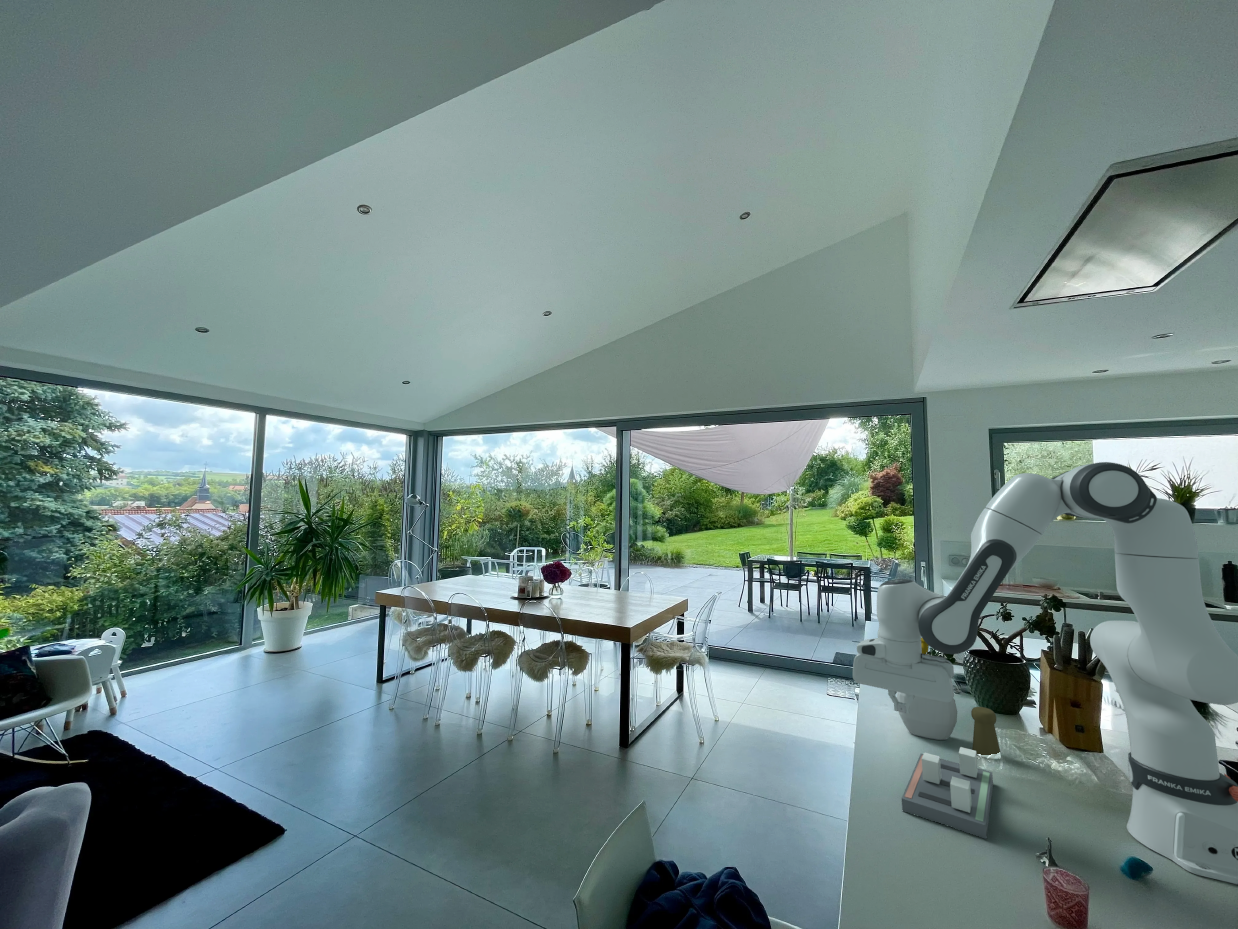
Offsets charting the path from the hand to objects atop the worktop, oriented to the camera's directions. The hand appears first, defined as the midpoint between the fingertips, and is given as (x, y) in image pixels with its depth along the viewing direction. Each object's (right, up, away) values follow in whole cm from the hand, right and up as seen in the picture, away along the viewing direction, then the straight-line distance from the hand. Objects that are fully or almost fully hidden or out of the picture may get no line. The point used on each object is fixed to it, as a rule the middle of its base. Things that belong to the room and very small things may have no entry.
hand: (902, 711), depth 113 cm
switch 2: (+4, -12, -14) cm, 19 cm away
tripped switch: (+4, -13, -4) cm, 14 cm away
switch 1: (+14, -13, -2) cm, 19 cm away
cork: (+28, -17, +12) cm, 35 cm away
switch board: (+7, -15, -7) cm, 18 cm away
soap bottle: (+20, -18, +21) cm, 34 cm away
